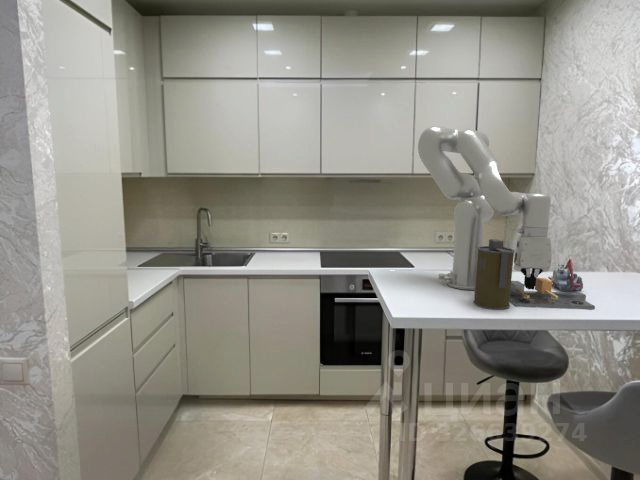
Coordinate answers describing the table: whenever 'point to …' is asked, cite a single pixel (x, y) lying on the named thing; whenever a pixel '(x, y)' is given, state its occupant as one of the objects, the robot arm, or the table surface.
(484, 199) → the robot arm
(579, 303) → the strip
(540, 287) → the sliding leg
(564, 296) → the rail
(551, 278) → the brake caliper
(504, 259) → the canister
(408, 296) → the table surface
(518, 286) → the fixed leg
